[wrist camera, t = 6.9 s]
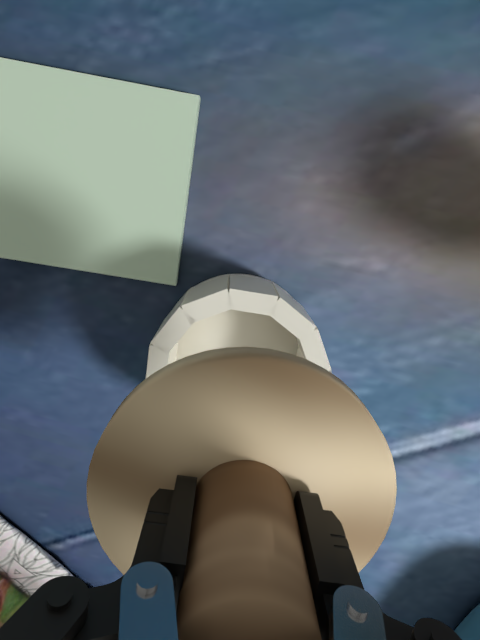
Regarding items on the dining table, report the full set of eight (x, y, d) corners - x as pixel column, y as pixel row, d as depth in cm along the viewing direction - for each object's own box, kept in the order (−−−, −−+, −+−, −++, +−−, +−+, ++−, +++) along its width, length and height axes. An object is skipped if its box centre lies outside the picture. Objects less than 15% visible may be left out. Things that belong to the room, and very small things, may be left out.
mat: (6, 61, 24) (-2, 57, 24) (200, 98, 25) (199, 95, 24) (5, 255, 28) (-1, 257, 27) (177, 283, 28) (175, 285, 28)
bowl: (172, 261, 28) (157, 276, 22) (324, 286, 29) (348, 307, 23) (155, 401, 31) (138, 446, 25) (293, 420, 32) (307, 468, 26)
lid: (109, 323, 13) (11, 418, 8) (419, 371, 14) (555, 493, 8) (88, 574, 16) (6, 783, 11) (345, 603, 17) (405, 816, 11)
